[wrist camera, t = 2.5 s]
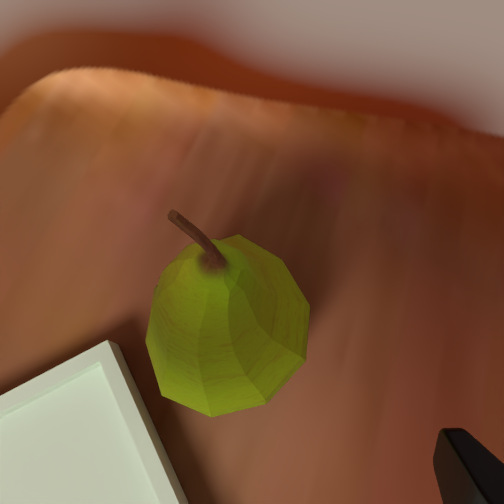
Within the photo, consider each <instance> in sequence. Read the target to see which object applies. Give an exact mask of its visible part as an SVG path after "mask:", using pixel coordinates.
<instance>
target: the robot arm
mask: <svg viewBox="0 0 504 504" xmlns="http://www.w3.org/2000/svg"><path fill="white" fill-rule="evenodd" d="M433 465H434V471H435V475H436V478H437V482H438V486H439V490H440V493H441V497H442V501H443V504H504V464H503V463H502V462H501V461H500V460H499V459H498V458H497V457H495V456H494V455H493V454H492V453H491V452H490V451H489V450H488V449H486V448H485V447H484V446H483V445H482V444H481V443H480V442H479V441H477V440H476V439H475V438H474V437H473V436H472V435H471V434H470V433H468V432H467V431H466V430H464V429H462V428H443V429H441V430H440V431H439V434H438V439H437V443H436V447H435V452H434V457H433Z"/></svg>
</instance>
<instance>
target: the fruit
mask: <svg viewBox="0 0 504 504" xmlns="http://www.w3.org/2000/svg"><path fill="white" fill-rule="evenodd" d="M168 219H169V220H170V221H171V222H172V223H174V224H175V225H176V226H178V227H179V228H180V229H181V230H183V231H184V232H185V233H186V234H188V235H189V236H190V237H192V238H193V239H194V240H195V241H196V242H197V243H194V244H190V245H187V246H186V247H185V248H184V249H183V250H182V251H181V253H180V254H179V255H178V256H177V257H176V258H175V259H174V260H173V261H172V262H171V263H170V264H169V265H168V266H167V267H166V268H165V269H164V271H163V272H162V274H161V276H160V278H159V283H158V285H157V286H156V287H155V288H154V293H153V299H152V305H151V312H150V318H149V324H148V330H147V335H146V345H147V348H148V352H149V355H150V358H151V362H152V365H153V368H154V372H155V375H156V378H157V382H158V385H159V388H160V392H161V395H162V396H164V397H166V398H169V399H171V400H173V401H175V402H178V403H180V404H182V405H184V406H187V407H189V408H191V409H194V410H196V411H198V412H200V413H203V414H205V415H207V416H209V417H215V416H219V415H223V414H227V413H231V412H235V411H239V410H243V409H247V408H251V407H255V406H259V405H263V404H267V403H268V402H269V401H270V400H271V398H272V397H273V396H274V395H275V394H276V393H277V392H278V391H279V390H280V389H281V388H282V386H283V385H284V384H285V383H286V382H287V381H288V380H289V379H290V378H291V377H292V376H293V374H294V373H295V372H296V371H297V370H298V369H299V368H300V367H301V366H302V365H303V363H304V362H305V361H306V352H307V340H308V327H309V314H310V305H309V303H308V302H307V300H306V298H305V297H304V295H303V293H302V292H301V290H300V289H299V287H298V285H297V284H296V282H295V280H294V279H293V277H292V275H291V274H290V272H289V270H288V269H287V267H286V265H285V264H284V262H283V261H282V260H281V259H280V258H278V257H277V256H275V255H273V254H272V253H270V252H268V251H266V250H265V249H263V248H261V247H260V246H258V245H256V244H255V243H253V242H251V241H249V240H248V239H246V238H244V237H243V236H241V235H239V234H237V235H234V236H231V237H228V238H225V239H222V240H217V239H211V240H209V239H208V238H207V237H206V236H205V235H204V234H203V233H202V232H201V231H200V230H199V229H198V228H197V227H195V226H194V225H193V224H192V223H190V222H189V221H188V220H187V219H186V218H184V217H183V216H182V215H181V214H179V213H178V212H177V211H175V210H171V211H170V212H169V214H168Z"/></svg>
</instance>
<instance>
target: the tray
mask: <svg viewBox="0 0 504 504" xmlns="http://www.w3.org/2000/svg"><path fill="white" fill-rule="evenodd" d="M0 504H189V503H188V500H187V498H186V496H185V494H184V491H183V489H182V487H181V485H180V482H179V480H178V478H177V476H176V473H175V471H174V469H173V467H172V464H171V462H170V460H169V458H168V455H167V453H166V451H165V449H164V446H163V444H162V442H161V440H160V437H159V435H158V433H157V431H156V428H155V426H154V424H153V422H152V419H151V417H150V415H149V413H148V410H147V408H146V406H145V404H144V401H143V399H142V397H141V395H140V392H139V390H138V388H137V386H136V383H135V381H134V379H133V377H132V374H131V372H130V370H129V368H128V365H127V363H126V361H125V359H124V356H123V354H122V352H121V350H120V347H119V345H118V344H116V343H114V342H111V341H109V340H106V341H104V342H102V343H100V344H98V345H97V346H95V347H93V348H91V349H89V350H87V351H85V352H83V353H81V354H79V355H77V356H75V357H74V358H72V359H70V360H68V361H66V362H64V363H62V364H60V365H58V366H56V367H54V368H53V369H51V370H49V371H47V372H45V373H43V374H41V375H39V376H37V377H35V378H33V379H31V380H30V381H28V382H26V383H24V384H22V385H20V386H18V387H16V388H14V389H12V390H10V391H9V392H7V393H5V394H3V395H1V396H0Z"/></svg>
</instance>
